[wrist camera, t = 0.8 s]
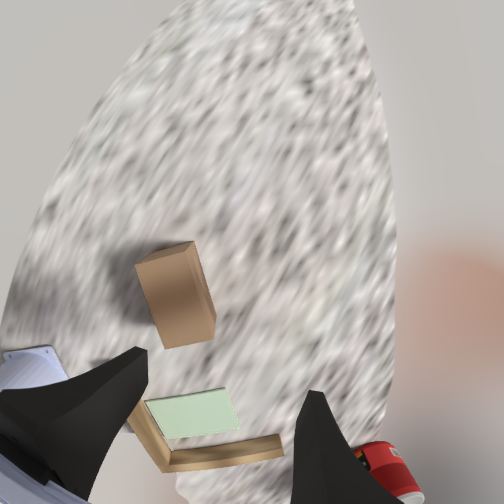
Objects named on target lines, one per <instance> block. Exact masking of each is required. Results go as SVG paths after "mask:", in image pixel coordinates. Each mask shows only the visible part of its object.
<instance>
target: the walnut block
mask: <svg viewBox="0 0 504 504" xmlns="http://www.w3.org/2000/svg"><path fill="white" fill-rule="evenodd" d="M135 268H136V272H137V275H138V278H139V281H140V284H141V287H142V289H143V292H144V295H145V298H146V301H147V304H148V306H149V309H150V312H151V315H152V317H153V320H154V323H155V325H156V328H157V330H158V333H159V336H160V338H161V341H162V343H163V346H164V348H165V349H170V348H175V347H180V346H184V345H189V344H194V343H198V342H203V341H207V340H212V339H214V331H215V323H216V312H215V309H214V306H213V302H212V299H211V296H210V293H209V289H208V286H207V283H206V280H205V276H204V273H203V270H202V266H201V263H200V260H199V256H198V253H197V249H196V246H195V242H194V241H192V242H188V243H184V244H181V245H177V246H173V247H170V248H166V249H163V250H159V251H156V252H152V253H150V254H149V255H148V256H146V257H145V258H143V259H142V260H141V261H139V262H138V263H137V264H135Z"/></svg>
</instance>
